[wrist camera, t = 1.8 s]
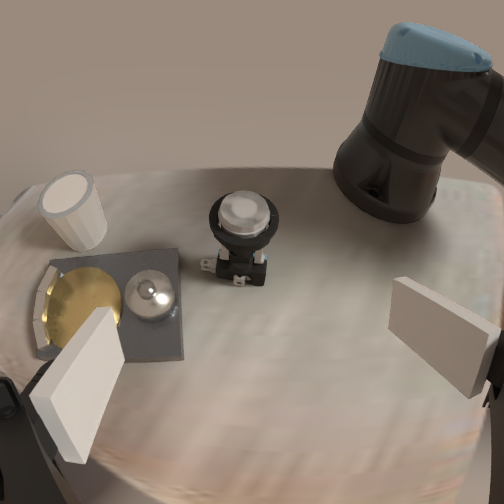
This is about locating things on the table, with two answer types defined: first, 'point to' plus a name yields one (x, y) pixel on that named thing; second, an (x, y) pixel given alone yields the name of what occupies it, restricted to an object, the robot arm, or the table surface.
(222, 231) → the push button
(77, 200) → the white tapered cup
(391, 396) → the table surface
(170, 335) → the carrier plate
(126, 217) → the table surface
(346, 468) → the table surface
